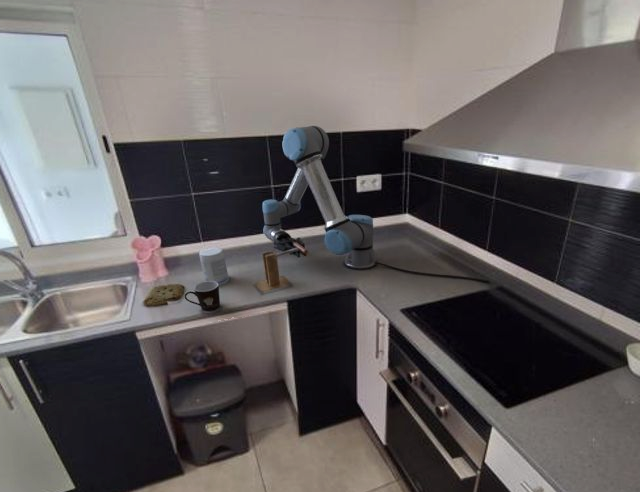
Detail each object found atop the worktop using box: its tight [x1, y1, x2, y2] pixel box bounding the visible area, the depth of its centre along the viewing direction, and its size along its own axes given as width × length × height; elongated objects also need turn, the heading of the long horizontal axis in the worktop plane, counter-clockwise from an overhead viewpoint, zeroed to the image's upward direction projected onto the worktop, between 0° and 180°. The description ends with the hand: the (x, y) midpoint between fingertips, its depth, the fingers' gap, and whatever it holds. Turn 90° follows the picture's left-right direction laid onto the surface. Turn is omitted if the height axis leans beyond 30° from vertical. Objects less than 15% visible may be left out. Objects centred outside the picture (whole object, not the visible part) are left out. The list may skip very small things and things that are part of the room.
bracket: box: [254, 250, 293, 292], centre depth 158 cm, size 13×10×15 cm
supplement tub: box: [198, 247, 230, 286], centre depth 162 cm, size 10×10×15 cm
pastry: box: [142, 283, 185, 307], centre depth 153 cm, size 17×17×3 cm
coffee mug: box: [184, 280, 221, 312], centre depth 142 cm, size 12×9×10 cm
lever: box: [265, 242, 309, 258], centre depth 158 cm, size 16×11×2 cm
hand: (302, 253), depth 161 cm, fingers open, 2 cm apart
